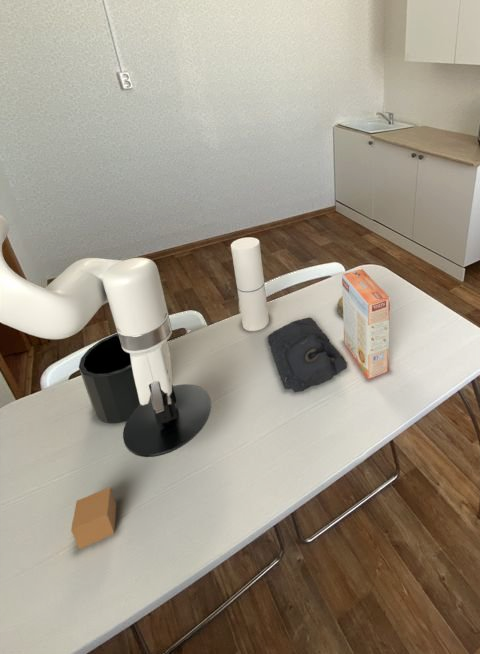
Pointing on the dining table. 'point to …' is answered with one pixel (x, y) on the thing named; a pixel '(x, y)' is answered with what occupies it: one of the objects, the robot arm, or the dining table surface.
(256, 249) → the cylindrical container
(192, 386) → the bin lid
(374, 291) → the cracker box
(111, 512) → the cube
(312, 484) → the dining table surface
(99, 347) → the trash can
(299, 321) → the black fabric pouch
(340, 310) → the cake
